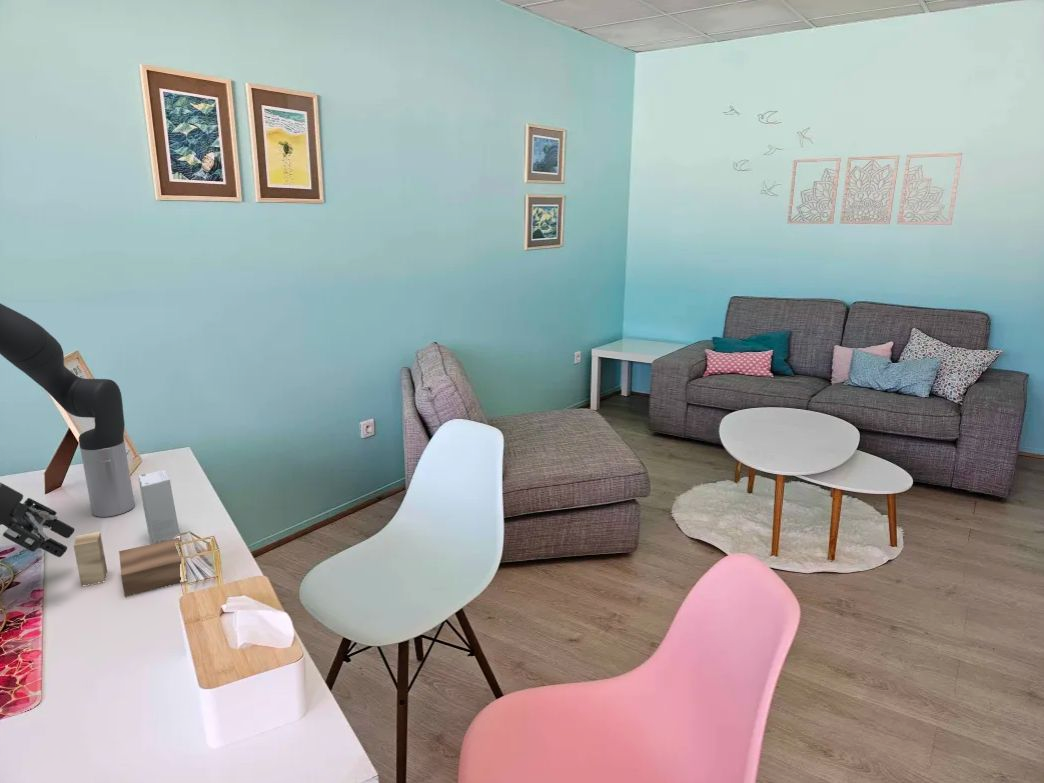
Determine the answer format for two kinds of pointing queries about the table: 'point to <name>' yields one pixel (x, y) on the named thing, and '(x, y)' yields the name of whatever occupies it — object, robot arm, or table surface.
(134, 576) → the walnut block
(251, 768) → the table surface
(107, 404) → the robot arm
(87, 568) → the oak post
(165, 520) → the skincare box
